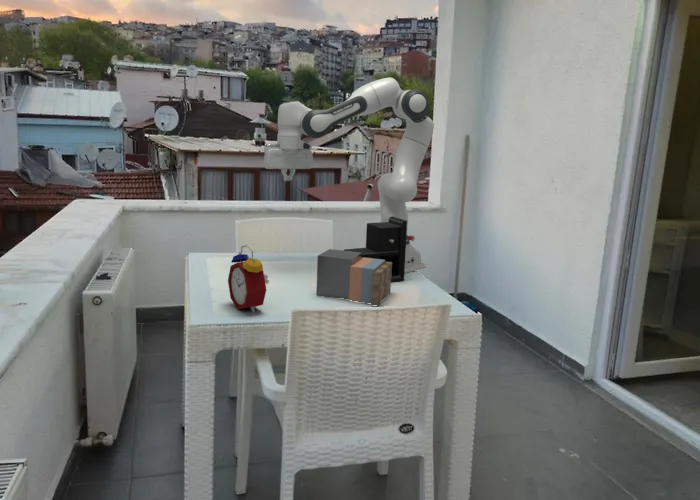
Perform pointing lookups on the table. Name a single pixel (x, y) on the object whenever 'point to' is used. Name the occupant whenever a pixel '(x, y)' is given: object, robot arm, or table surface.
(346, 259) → the iron bookend
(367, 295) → the slate-blue book
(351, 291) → the terracotta book
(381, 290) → the walnut end board
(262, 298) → the alarm clock
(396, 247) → the bookend
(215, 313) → the table surface
